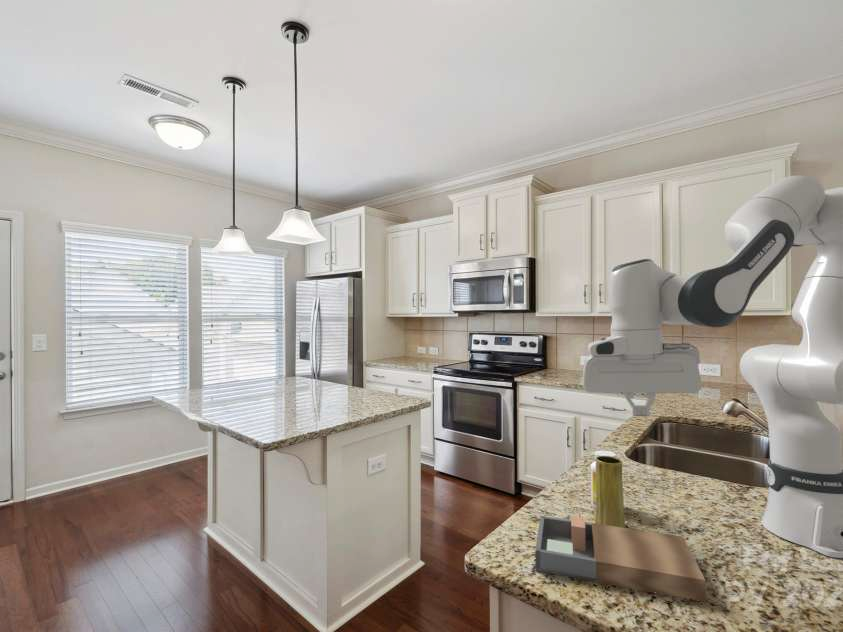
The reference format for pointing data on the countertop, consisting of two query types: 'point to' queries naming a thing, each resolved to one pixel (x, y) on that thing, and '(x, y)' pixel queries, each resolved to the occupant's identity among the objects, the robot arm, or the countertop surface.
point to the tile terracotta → (578, 533)
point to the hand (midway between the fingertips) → (640, 415)
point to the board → (646, 562)
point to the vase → (609, 492)
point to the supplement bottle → (593, 474)
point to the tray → (562, 563)
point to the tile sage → (560, 546)
